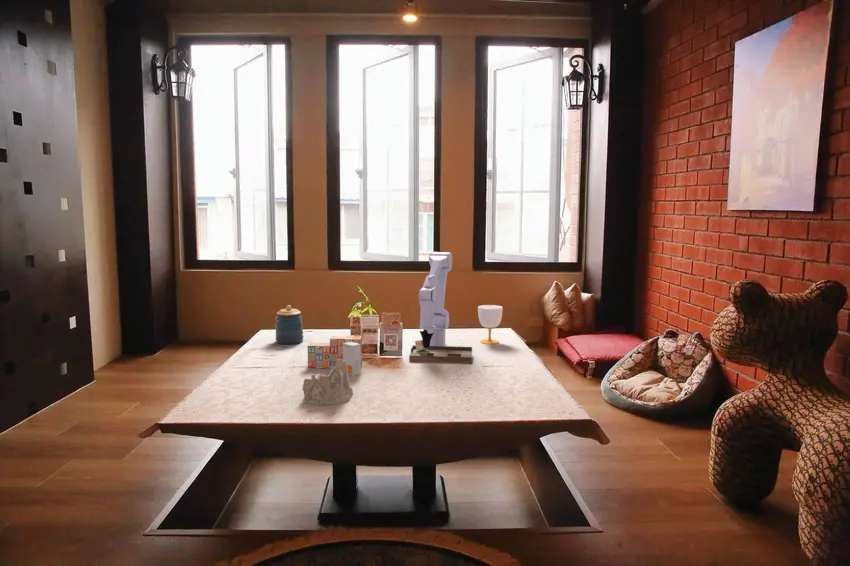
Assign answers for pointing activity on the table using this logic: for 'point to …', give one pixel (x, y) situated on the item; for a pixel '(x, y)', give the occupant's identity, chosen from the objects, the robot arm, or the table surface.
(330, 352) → the stack of blocks
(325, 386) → the ceramic cottage
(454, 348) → the trap box
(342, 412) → the table surface
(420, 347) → the maple block
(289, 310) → the canister
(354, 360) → the skincare box
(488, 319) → the cup
